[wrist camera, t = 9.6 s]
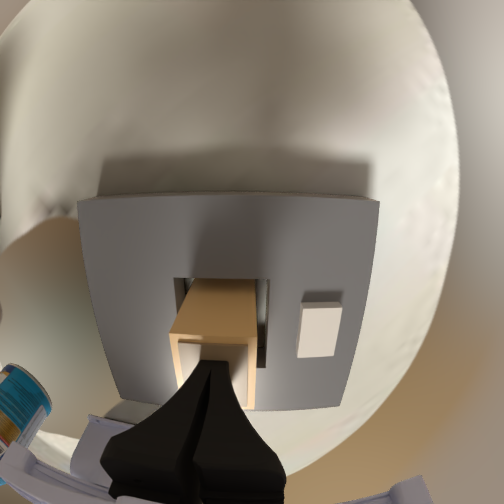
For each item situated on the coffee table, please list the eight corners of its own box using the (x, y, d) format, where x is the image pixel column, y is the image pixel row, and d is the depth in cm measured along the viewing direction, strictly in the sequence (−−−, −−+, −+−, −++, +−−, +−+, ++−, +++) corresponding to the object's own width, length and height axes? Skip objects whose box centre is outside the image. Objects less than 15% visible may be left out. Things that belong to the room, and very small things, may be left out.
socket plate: (129, 380, 21) (118, 404, 18) (96, 196, 17) (69, 203, 14) (332, 386, 22) (341, 412, 18) (363, 196, 17) (385, 203, 14)
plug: (199, 338, 20) (181, 407, 13) (195, 276, 19) (168, 335, 12) (252, 339, 20) (254, 411, 13) (254, 278, 19) (257, 338, 12)
